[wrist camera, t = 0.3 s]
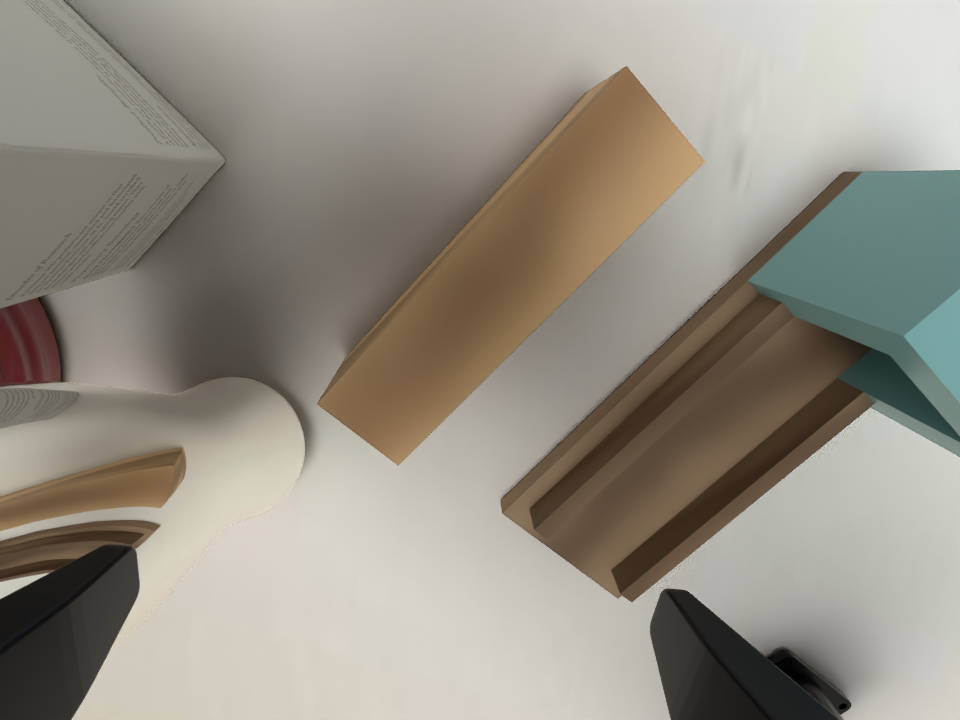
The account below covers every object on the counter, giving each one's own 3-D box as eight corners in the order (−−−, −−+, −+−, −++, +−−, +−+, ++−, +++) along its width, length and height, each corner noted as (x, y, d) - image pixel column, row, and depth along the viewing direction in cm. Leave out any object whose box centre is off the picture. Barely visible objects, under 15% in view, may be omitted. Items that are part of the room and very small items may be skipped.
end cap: (968, 308, 21) (1226, 374, 14) (857, 400, 22) (1043, 503, 15) (862, 171, 19) (1104, 168, 12) (747, 281, 20) (903, 336, 13)
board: (946, 303, 22) (1005, 318, 20) (612, 583, 26) (627, 623, 24) (843, 171, 20) (895, 171, 18) (500, 500, 24) (505, 534, 22)
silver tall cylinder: (225, 333, 22) (-363, 295, 7) (349, 438, 22) (42, 635, 7) (123, 456, 22) (-678, 689, 7) (246, 560, 22) (-280, 1021, 7)
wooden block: (645, 165, 20) (705, 161, 15) (410, 406, 23) (398, 465, 18) (583, 93, 19) (626, 65, 14) (347, 355, 22) (316, 403, 17)
